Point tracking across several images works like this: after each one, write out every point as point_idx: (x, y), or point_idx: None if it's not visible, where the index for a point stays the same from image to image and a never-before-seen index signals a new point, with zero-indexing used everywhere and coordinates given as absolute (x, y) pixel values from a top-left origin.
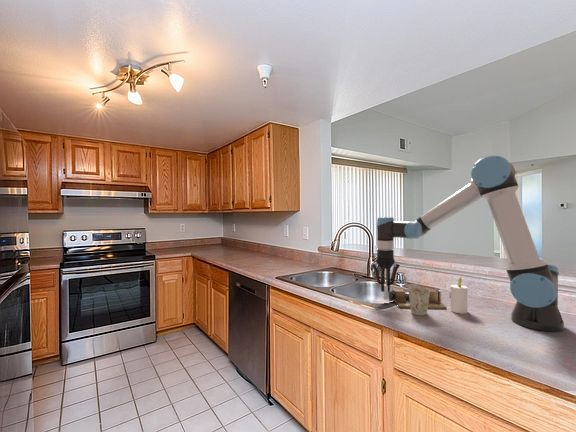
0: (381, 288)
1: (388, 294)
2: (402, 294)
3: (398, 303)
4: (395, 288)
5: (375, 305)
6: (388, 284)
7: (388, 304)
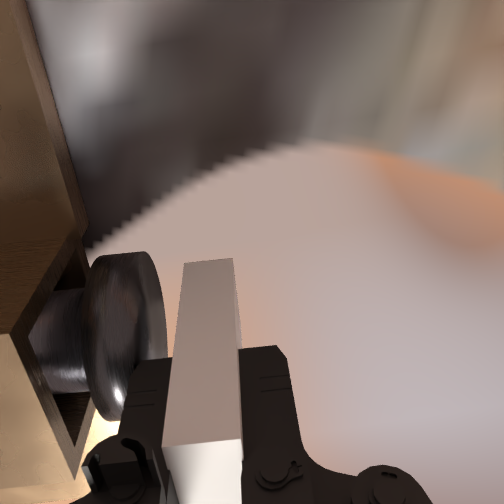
0: (292, 400)
1: None
2: None
3: (19, 97)
4: (20, 486)
5: (408, 48)
6: (137, 465)
7: (188, 134)
